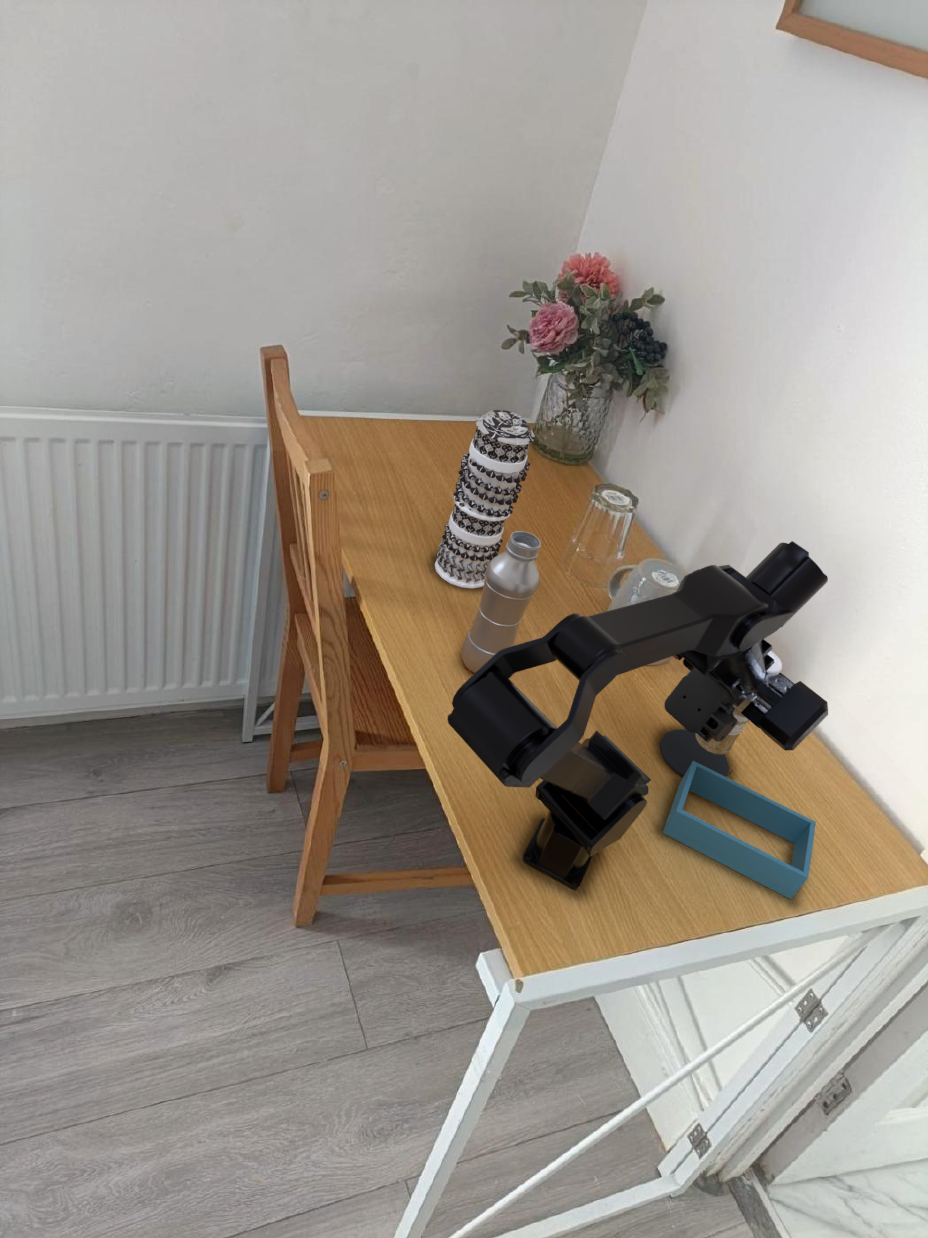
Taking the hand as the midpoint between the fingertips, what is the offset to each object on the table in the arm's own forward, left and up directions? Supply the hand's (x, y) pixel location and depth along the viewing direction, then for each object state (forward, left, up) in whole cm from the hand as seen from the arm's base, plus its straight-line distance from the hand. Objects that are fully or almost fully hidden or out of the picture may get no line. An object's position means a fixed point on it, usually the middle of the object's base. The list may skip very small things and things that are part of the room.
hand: (744, 695), depth 100 cm
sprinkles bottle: (-1, +1, -7) cm, 7 cm away
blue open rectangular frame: (-7, -6, -14) cm, 17 cm away
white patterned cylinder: (+18, +41, -14) cm, 47 cm away
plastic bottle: (0, +30, -14) cm, 33 cm away
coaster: (+3, +1, -14) cm, 14 cm away
